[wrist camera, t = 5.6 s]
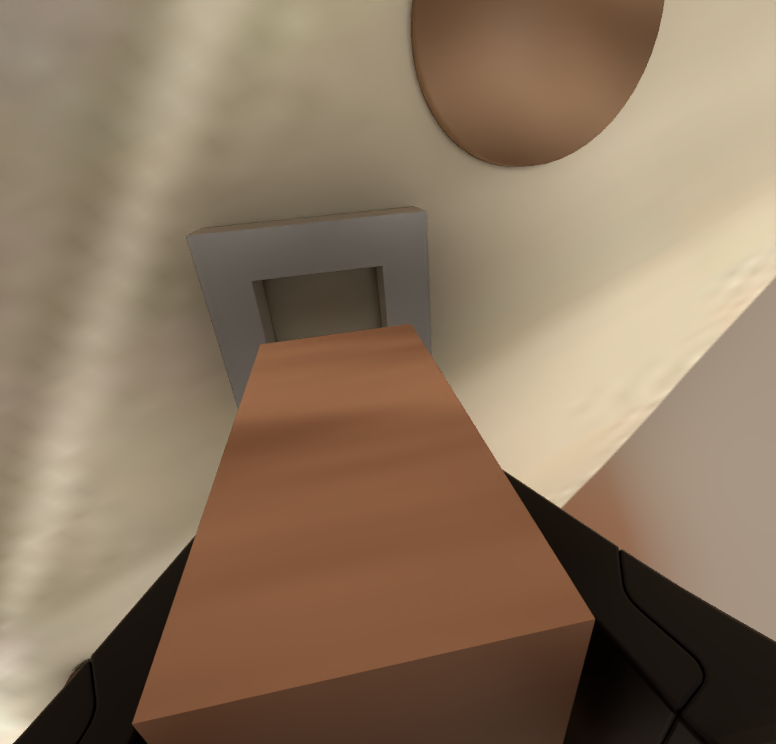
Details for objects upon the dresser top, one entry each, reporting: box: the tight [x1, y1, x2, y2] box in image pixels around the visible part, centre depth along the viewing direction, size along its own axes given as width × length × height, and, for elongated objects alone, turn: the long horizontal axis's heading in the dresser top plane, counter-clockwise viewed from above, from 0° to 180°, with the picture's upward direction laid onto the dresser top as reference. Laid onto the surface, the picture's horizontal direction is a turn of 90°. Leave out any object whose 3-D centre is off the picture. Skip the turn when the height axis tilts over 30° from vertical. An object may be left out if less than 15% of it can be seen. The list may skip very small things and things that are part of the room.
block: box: [132, 324, 595, 744], centre depth 8 cm, size 4×4×8 cm
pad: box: [411, 0, 664, 166], centre depth 16 cm, size 10×10×1 cm
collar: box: [186, 207, 431, 409], centre depth 19 cm, size 10×10×2 cm
